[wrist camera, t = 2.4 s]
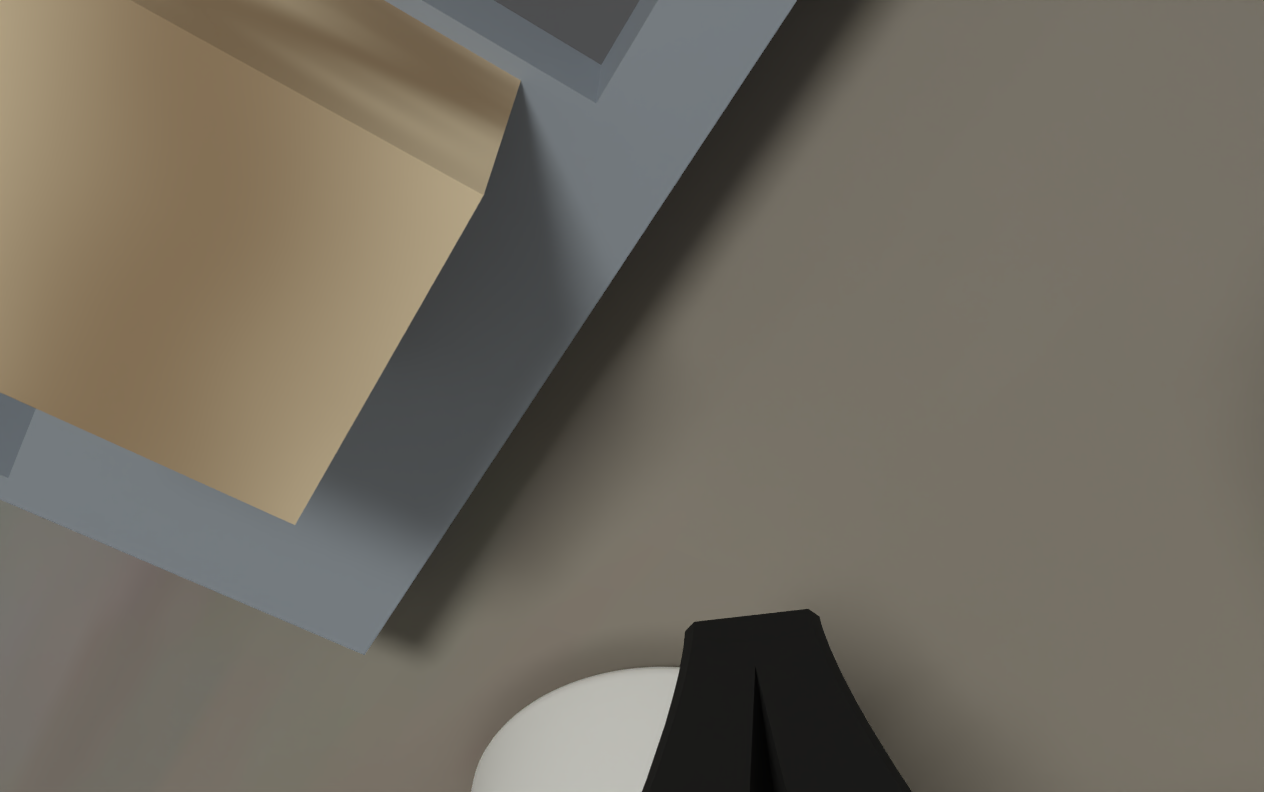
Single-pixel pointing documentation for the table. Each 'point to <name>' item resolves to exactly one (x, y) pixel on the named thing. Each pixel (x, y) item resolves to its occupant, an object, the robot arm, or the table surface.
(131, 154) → the beech block
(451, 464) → the deck
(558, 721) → the beverage can
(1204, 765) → the table surface
